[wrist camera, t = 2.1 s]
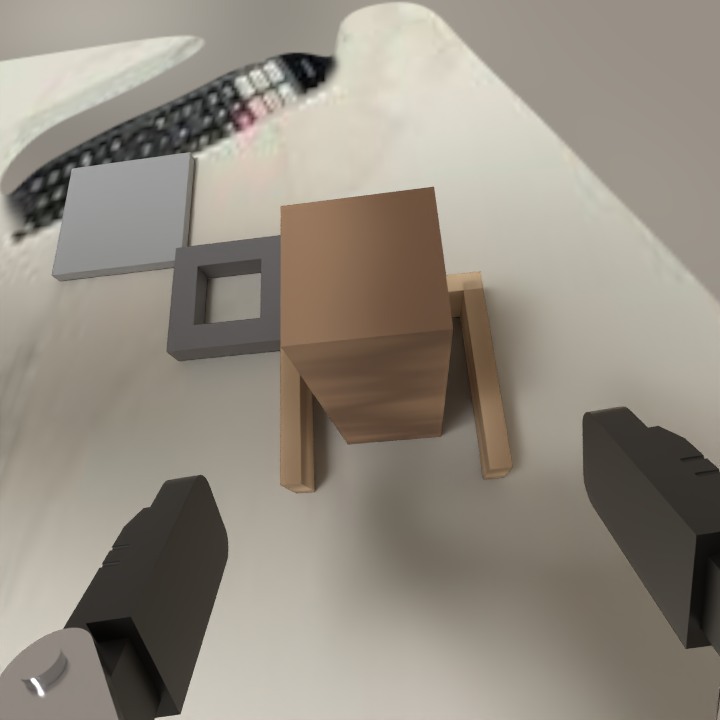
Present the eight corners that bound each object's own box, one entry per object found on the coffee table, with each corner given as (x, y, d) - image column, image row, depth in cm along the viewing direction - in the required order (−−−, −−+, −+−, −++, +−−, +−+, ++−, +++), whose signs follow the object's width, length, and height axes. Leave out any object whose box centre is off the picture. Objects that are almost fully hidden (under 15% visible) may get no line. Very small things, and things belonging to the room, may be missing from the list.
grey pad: (59, 280, 27) (51, 275, 27) (78, 176, 30) (72, 168, 29) (185, 266, 27) (180, 259, 26) (194, 160, 29) (190, 152, 29)
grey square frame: (178, 361, 25) (166, 351, 23) (186, 261, 27) (175, 248, 26) (292, 349, 24) (286, 339, 23) (291, 248, 26) (285, 234, 25)
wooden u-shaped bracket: (296, 493, 22) (280, 485, 19) (294, 318, 25) (280, 293, 22) (503, 477, 21) (512, 467, 19) (475, 299, 24) (480, 271, 22)
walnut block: (347, 444, 22) (280, 346, 12) (343, 358, 24) (280, 206, 13) (440, 436, 22) (453, 328, 12) (431, 349, 23) (434, 187, 13)
